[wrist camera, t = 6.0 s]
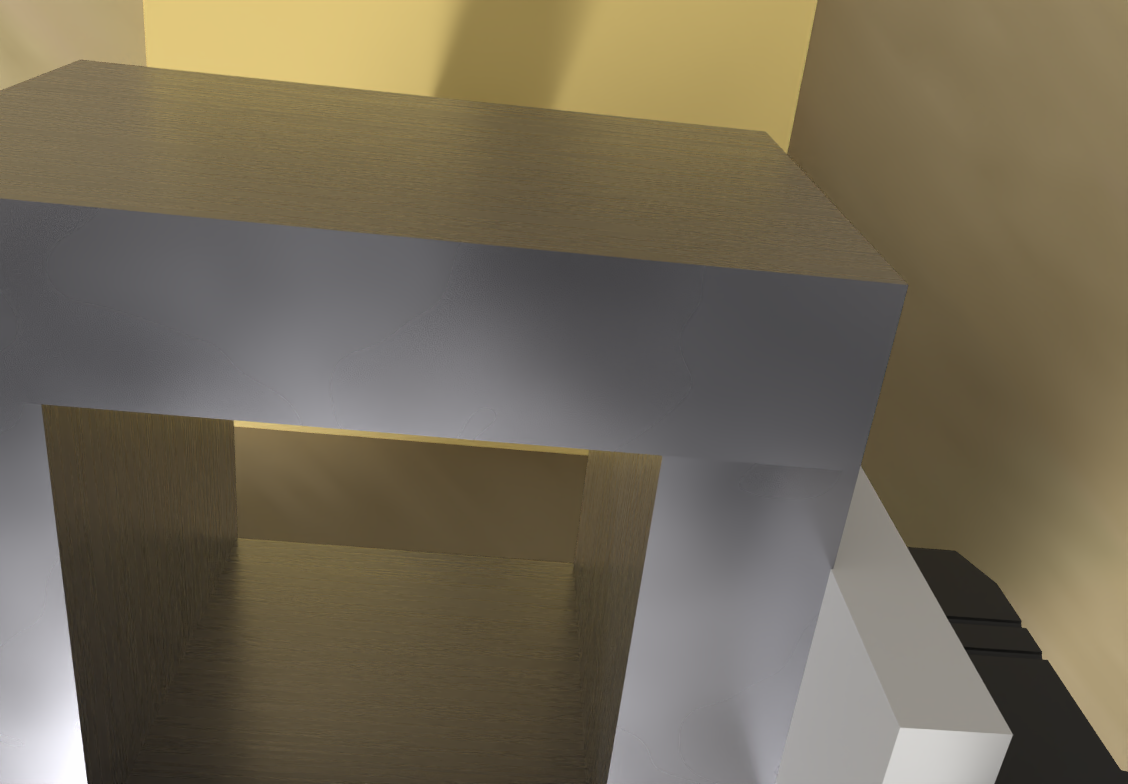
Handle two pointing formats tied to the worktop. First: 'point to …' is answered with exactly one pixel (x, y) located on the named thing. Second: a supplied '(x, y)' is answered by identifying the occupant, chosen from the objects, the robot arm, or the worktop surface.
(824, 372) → the grey square hollow block
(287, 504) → the worktop surface
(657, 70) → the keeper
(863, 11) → the worktop surface
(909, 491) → the worktop surface
